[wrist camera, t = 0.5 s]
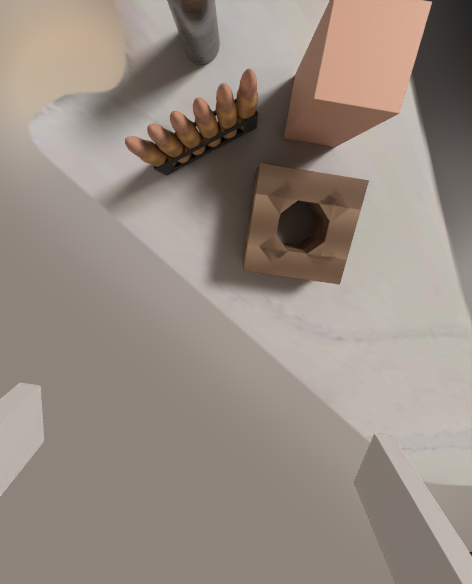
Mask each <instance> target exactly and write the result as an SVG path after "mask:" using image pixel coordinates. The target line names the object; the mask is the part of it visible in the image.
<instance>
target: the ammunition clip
mask: <svg viewBox="0 0 472 584" xmlns="http://www.w3.org/2000/svg"><path fill="white" fill-rule="evenodd" d="M257 99H258V94H257V79H256V75H255V73H254V71H253V70H252V69H247V70H246V71H245V72H244V73H243V75H242V78H241V81H240V86H239V90H238V92H237V99H235V100H234V99H233V94H232V91H231V89H230V87H229V86H228V85H227V84H224V83H223V84H221V85H220V86H219V87H218V90H217V96H216V100H217V103H216V110H215V111H212V110H211V109H210V107H209V105H208V104H207V102H206V101H205V100H203V99H202V98H196V99H195V100H194V103H193V112H194V115H195V122H192V121H190V120H188V119H187V118H186V116H185V115H183V114H182V113H181V112H178V111H173V112H172V113H171V115H170V121H171V124H172V127H173V128H174V130H175V131H176V132H175V133H172V132H171V131H169V130H166V129H164V128H163V127H161V126H160V125H157V124H150V125H149V126H148V128H147V131H148V134H149V136H150V138H151V139H152V140H153V141H154V142H155V144H154V143H153V142H151V141H148V140H143V139H141V138H138V137H134V136H131V137H127V138H126V139H125V144H126V146H127V147H128V149H129V150H130V151H131V152H132V153H134V154H135V155H137V156H138V157H140V158H141V160H143V161H144V162H146V163H149V164H151V165H153V166H154V169H155V170H157V171H159V172H161V173H163V174H165V175H169V174H171V173H173V172H174V171H176V170H178V169H180V168H182V167H184V166H186V165H188V164H190V163H191V162H193V161H195V160H197V159H199V158H201V157H203V156H205V155H206V154H208V153H210V152H212V151H214V150H216V149H218V148H220V147H222V146H223V145H225V144H227V143H229V142H231V141H233V140H235V139H237V138H238V137H240V136H242V135H244V134H246V133H248V132H250V131H252V130H254V129H255V128H256V127H257V118H258V113H257V111H256V105H257ZM216 115H217V118H218V123H217V121H216V117H215V116H216ZM196 126H197V127H198V129H199V131H200V132H198V130H197V128H196ZM155 166H156V167H155Z"/></svg>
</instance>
